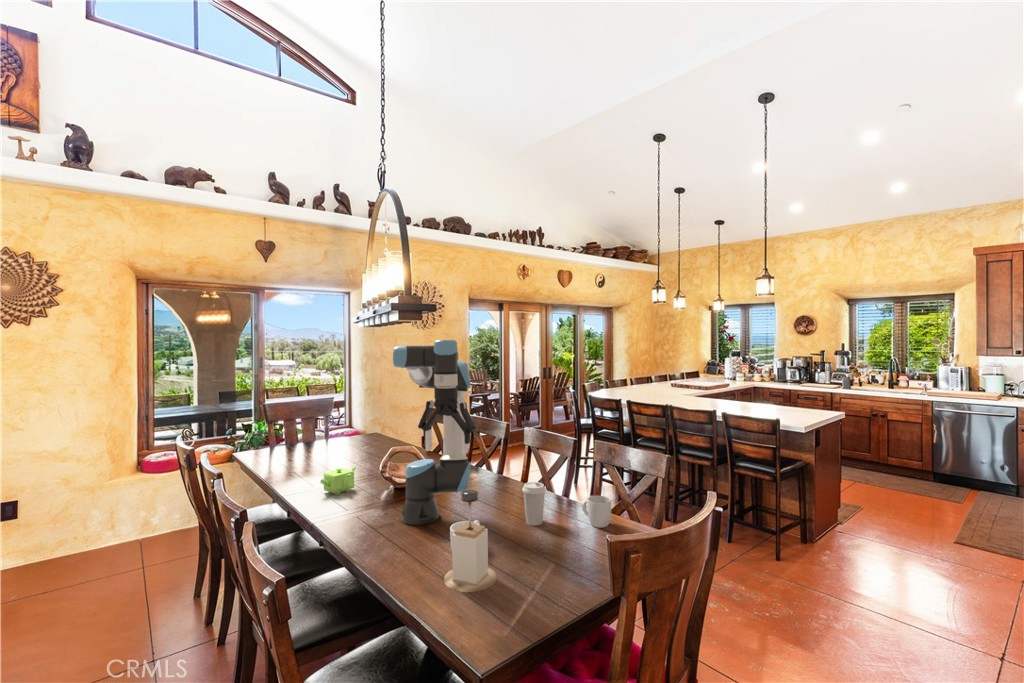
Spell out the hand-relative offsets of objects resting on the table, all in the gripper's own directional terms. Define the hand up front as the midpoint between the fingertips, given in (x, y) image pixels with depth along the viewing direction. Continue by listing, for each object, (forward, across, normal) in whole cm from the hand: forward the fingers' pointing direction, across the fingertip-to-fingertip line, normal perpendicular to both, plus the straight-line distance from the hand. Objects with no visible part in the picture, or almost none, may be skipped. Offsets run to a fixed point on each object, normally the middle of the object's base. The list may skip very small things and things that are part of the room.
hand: (446, 451), depth 153 cm
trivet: (+37, +12, -6) cm, 39 cm away
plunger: (+25, +12, -7) cm, 29 cm away
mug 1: (+37, +1, +13) cm, 39 cm away
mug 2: (+37, +38, +50) cm, 73 cm away
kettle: (+37, -85, +44) cm, 103 cm away
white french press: (+36, +12, -6) cm, 38 cm away
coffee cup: (+37, +15, +42) cm, 58 cm away
